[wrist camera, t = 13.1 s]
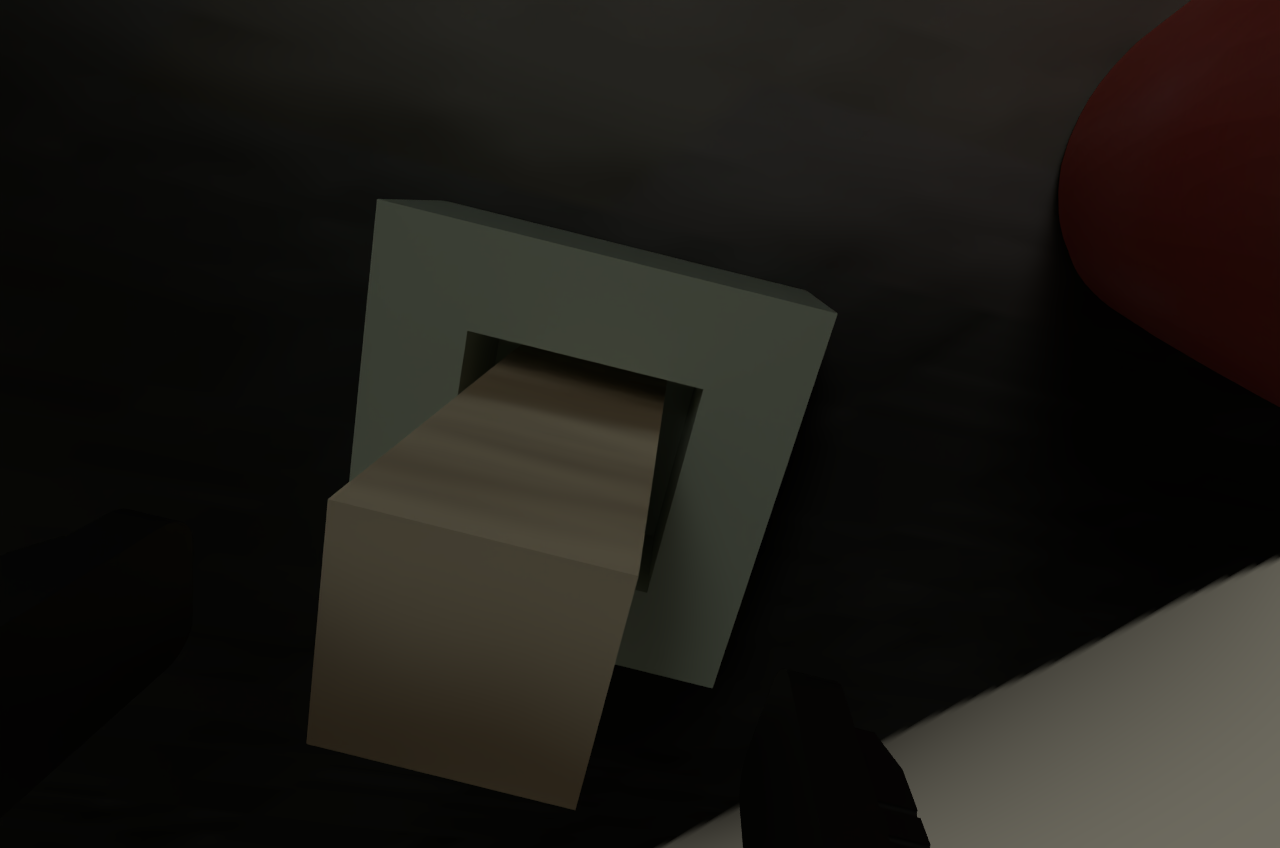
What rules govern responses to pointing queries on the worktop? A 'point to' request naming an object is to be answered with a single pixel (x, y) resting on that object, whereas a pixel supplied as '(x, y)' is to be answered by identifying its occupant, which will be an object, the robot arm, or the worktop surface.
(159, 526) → the robot arm
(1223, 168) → the flower pot
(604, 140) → the worktop surface
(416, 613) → the wooden block
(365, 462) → the holder
